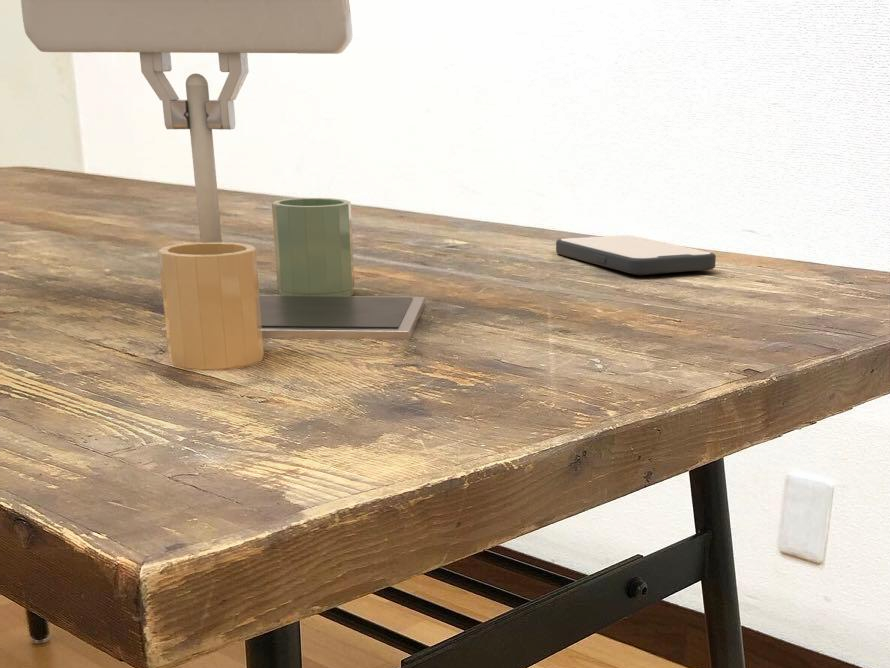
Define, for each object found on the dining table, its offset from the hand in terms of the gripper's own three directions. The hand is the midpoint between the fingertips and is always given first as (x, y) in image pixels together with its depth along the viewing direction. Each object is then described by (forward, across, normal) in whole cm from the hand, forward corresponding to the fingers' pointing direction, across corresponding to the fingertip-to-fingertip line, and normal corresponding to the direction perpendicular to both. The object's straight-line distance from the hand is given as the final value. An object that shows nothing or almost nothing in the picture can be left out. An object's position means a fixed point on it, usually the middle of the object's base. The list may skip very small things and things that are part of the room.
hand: (200, 129), depth 81 cm
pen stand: (+13, -3, +12) cm, 18 cm away
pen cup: (+13, -5, -12) cm, 18 cm away
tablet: (+13, -6, 0) cm, 14 cm away
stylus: (+11, 0, 0) cm, 11 cm away
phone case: (+13, -31, -29) cm, 44 cm away
